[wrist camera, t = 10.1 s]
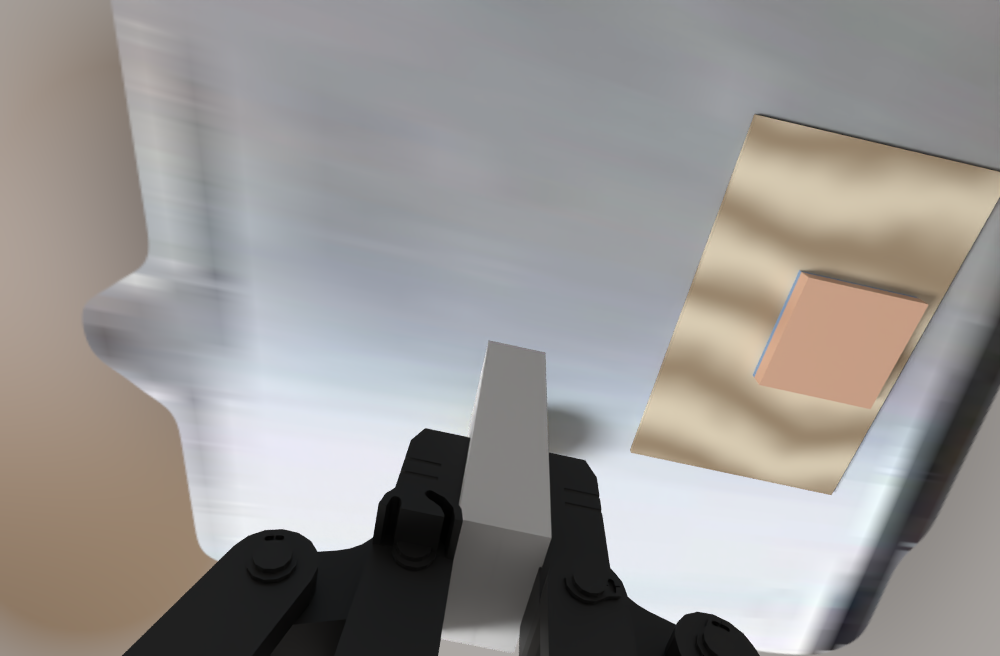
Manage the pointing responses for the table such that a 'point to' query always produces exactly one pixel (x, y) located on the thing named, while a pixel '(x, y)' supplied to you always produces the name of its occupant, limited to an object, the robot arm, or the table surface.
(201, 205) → the table surface
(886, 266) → the board
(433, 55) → the table surface
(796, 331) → the tile
